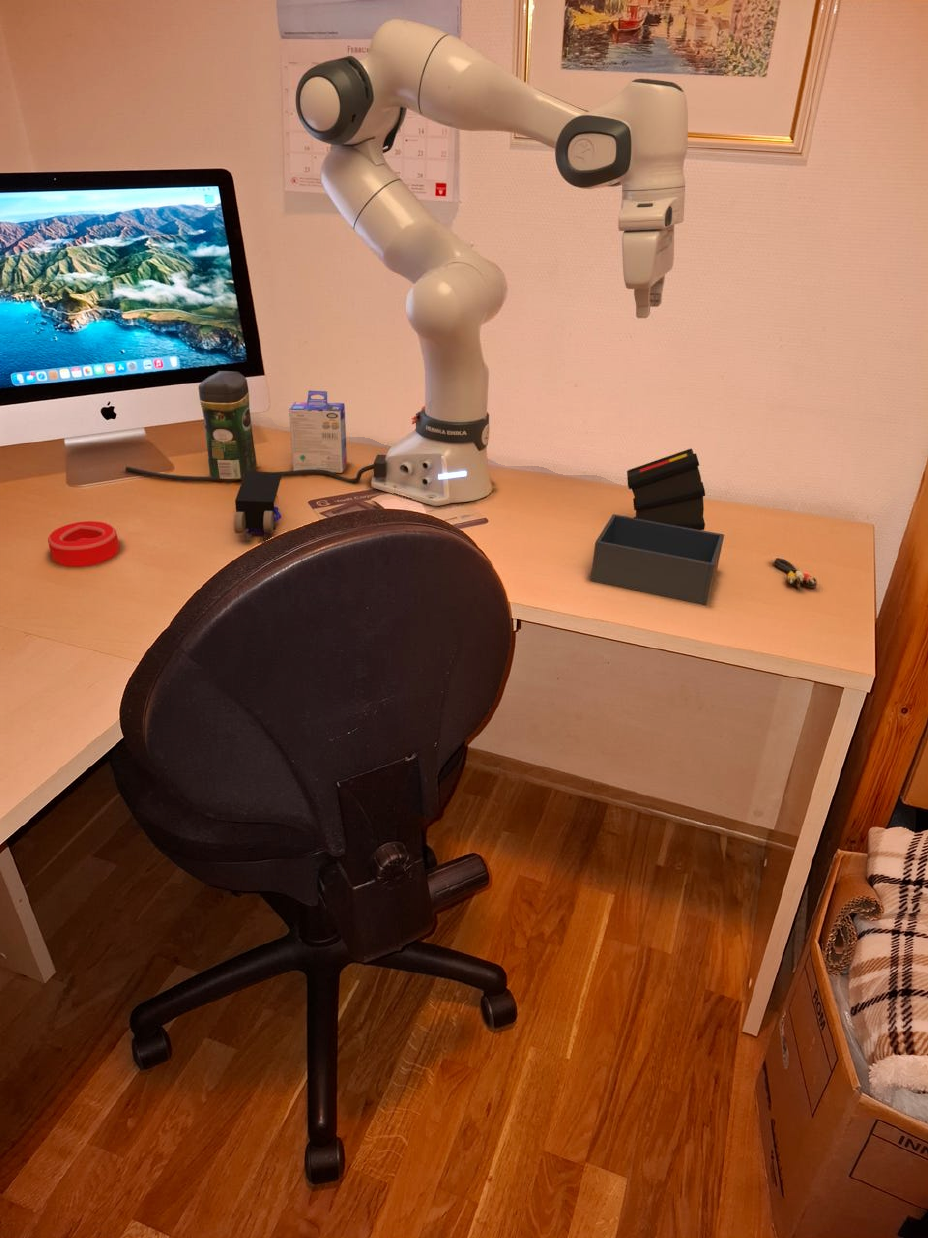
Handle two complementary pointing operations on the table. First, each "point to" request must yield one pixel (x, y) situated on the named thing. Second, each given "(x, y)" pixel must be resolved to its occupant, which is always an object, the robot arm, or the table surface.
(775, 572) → the table surface
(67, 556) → the decorative ornament
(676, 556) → the box
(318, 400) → the ink cartridge box
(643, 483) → the magazine
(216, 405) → the coffee jar
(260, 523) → the toy wheeled vehicle
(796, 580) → the composite cable
